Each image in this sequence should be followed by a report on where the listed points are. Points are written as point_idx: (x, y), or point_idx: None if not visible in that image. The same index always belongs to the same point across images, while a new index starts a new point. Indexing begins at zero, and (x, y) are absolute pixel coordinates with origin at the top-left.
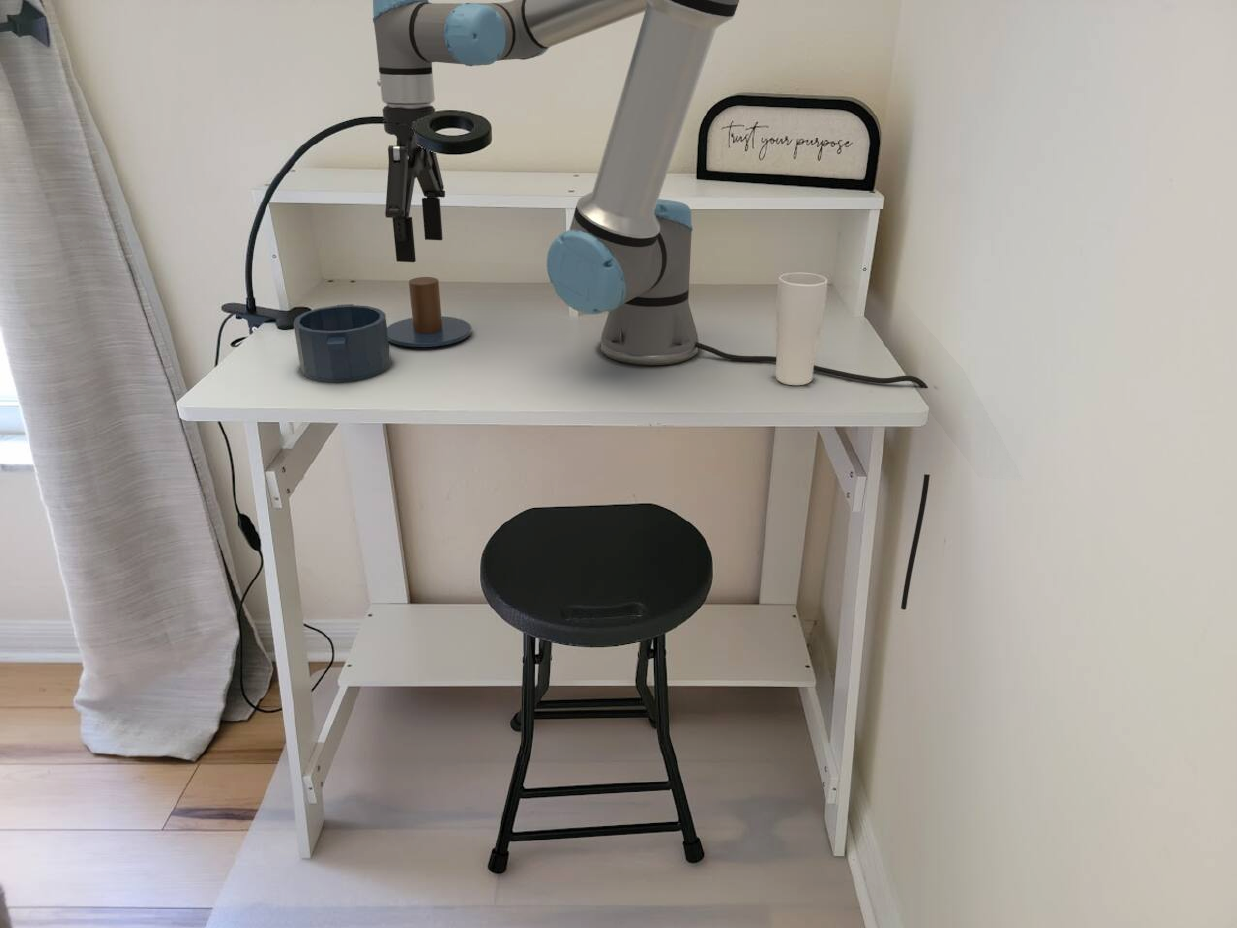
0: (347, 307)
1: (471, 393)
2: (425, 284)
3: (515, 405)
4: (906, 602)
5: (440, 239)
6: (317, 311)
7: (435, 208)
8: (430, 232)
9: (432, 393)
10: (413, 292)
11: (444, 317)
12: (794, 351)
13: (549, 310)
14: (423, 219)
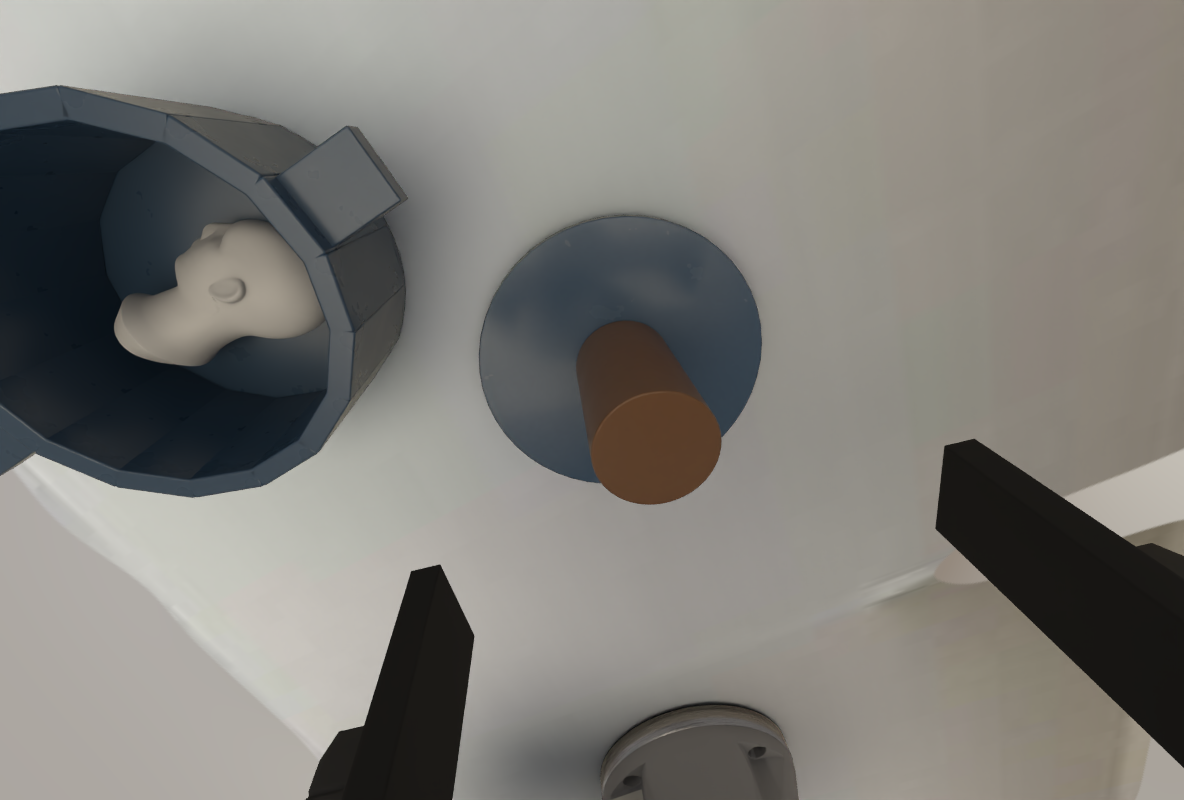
0: (292, 249)
1: (312, 634)
2: (605, 487)
3: (313, 713)
4: None
5: (938, 530)
6: (140, 137)
7: (1138, 693)
8: (976, 509)
9: (257, 575)
10: (590, 418)
11: (751, 351)
12: None
13: (918, 531)
14: (1064, 535)
